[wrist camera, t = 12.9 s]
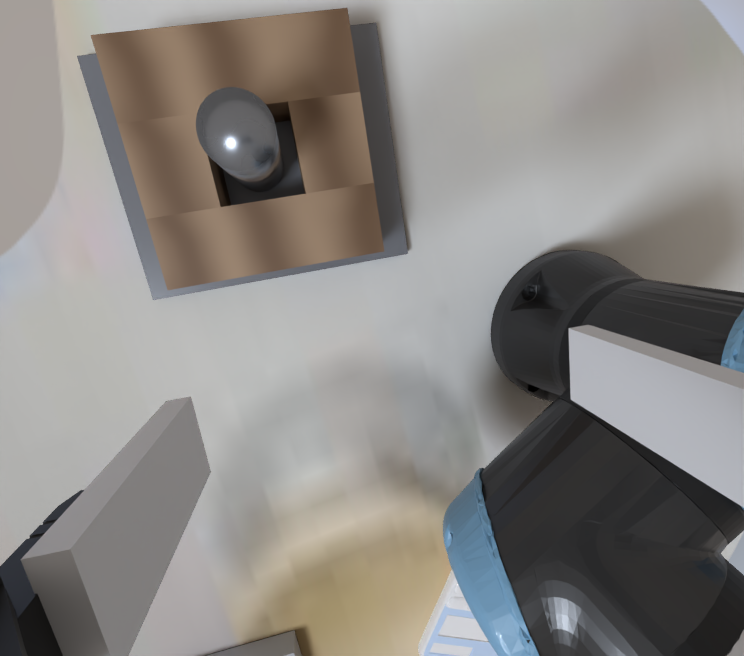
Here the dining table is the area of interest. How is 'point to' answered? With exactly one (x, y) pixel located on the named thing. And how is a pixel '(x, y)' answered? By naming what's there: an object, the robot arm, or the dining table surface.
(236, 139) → the peg
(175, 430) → the robot arm
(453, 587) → the calculator
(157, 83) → the socket
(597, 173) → the dining table surface
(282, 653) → the parts tray
